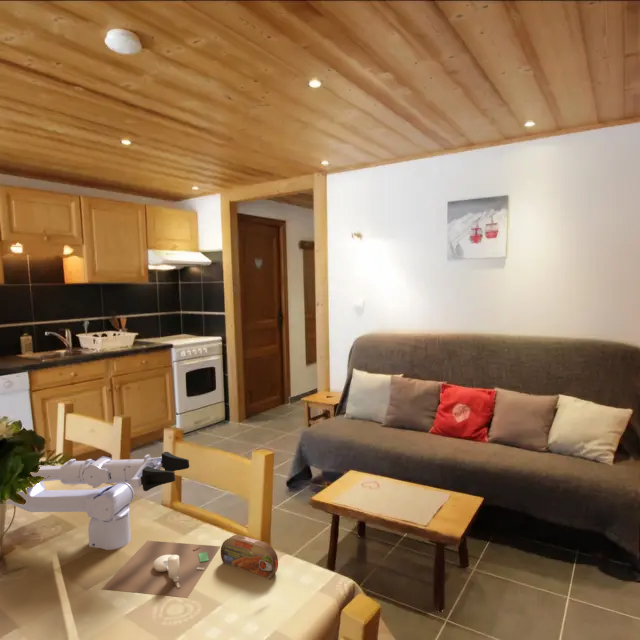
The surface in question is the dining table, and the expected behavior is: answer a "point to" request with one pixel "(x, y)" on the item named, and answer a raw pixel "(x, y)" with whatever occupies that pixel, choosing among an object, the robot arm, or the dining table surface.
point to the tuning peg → (168, 565)
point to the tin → (250, 555)
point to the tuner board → (147, 580)
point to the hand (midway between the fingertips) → (181, 470)
